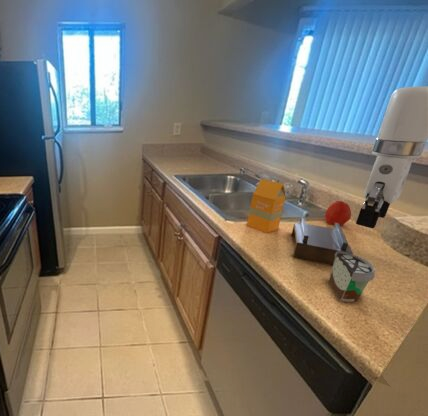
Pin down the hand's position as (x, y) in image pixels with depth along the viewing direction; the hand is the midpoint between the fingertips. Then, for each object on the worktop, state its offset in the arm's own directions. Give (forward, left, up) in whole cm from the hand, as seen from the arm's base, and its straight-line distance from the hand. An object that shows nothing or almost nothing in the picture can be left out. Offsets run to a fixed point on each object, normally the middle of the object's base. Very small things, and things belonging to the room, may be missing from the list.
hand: (370, 220), depth 65 cm
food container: (-1, -1, -22) cm, 22 cm away
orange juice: (+21, -37, -22) cm, 48 cm away
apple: (-5, -56, -22) cm, 61 cm away
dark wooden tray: (+4, -25, -22) cm, 34 cm away
